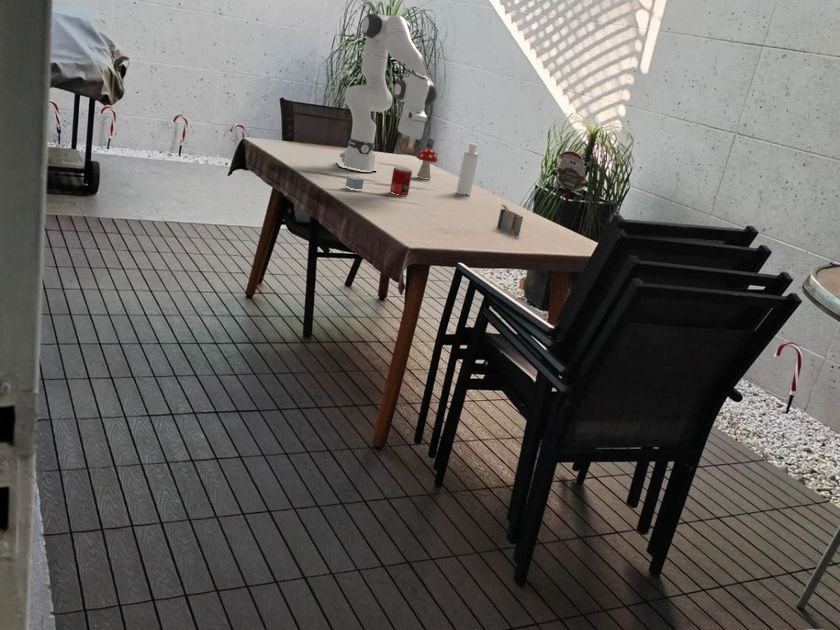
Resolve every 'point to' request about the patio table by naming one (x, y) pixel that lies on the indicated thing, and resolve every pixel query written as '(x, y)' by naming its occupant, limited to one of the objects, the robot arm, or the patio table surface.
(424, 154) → the decorative mushroom
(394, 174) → the canned food
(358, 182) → the grey block
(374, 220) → the patio table surface
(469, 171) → the white bottle
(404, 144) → the walnut block
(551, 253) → the patio table surface
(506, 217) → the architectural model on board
